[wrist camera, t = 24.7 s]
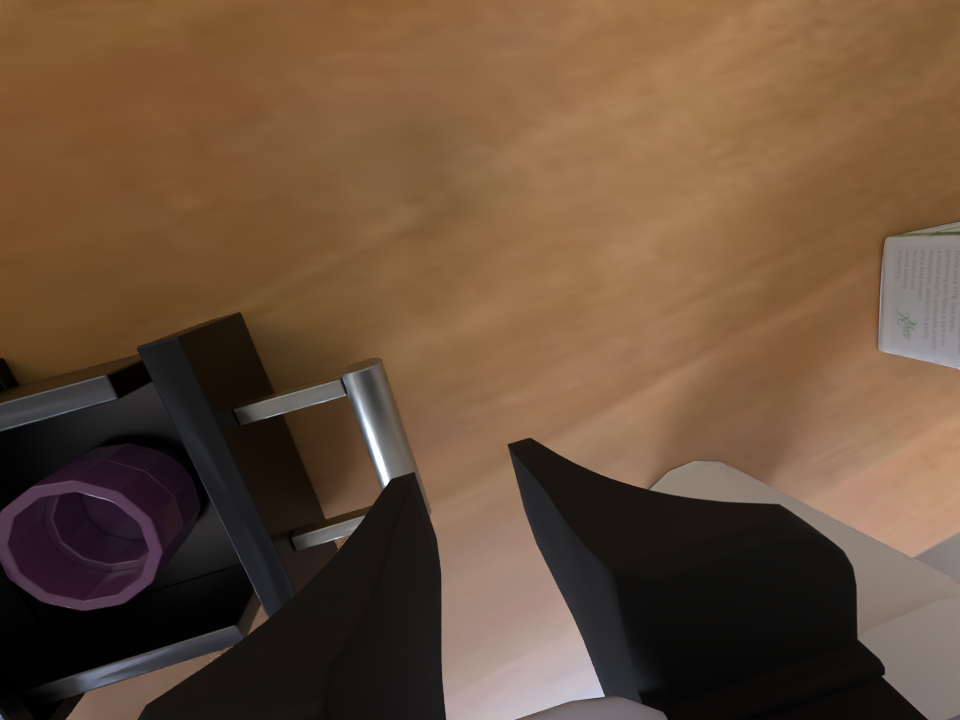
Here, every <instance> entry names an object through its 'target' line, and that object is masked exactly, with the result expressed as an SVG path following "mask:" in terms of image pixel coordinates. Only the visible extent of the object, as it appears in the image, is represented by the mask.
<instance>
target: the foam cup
mask: <svg viewBox="0 0 960 720" xmlns="http://www.w3.org/2000/svg"><path fill="white" fill-rule="evenodd" d="M649 490H652V491H657V492H661V493H666V494H671V495H676V496H683V497H689V498H696V499H705V500H713V501H723V502H742V503H767V504H780V505H782V506H783V507H785V508H786V509H788V510H790V511H791V512H792V513H794V514H795V515H797V516H798V517H800V518H801V519H803V520H804V521H806V522H807V523H808V524H810V525H811V526H812V527H814V528H815V529H816V530H818V531H819V532H821V533H822V534H823V535H825V536H826V537H827V538H829V539H830V540H831V541H832V542H834V543H835V544H836V545H837V546H839V547H840V548H841V549H842V550H844V552H845V554H846V555H847V557H848V559H849V560H850V562H851V564H852V566H853V568H854V574H855V579H856V585H857V633H858V640H859V641H860V642H861V643H862V644H863V645H865V646H866V647H867V648H868V649H869V650H870V651H871V652H872V653H873V654H875V655H876V656H877V657H878V658H879V659H880V660H881V662H882V663H883V665H884V667H885V675H883V676H882V677H883V678H884V679H885V680H886V681H887V682H888V683H889V684H891V685H892V686H893V687H894V688H895V689H896V690H897V691H898V692H899V693H900V694H901V695H902V696H903V697H904V698H905V699H907V700H908V701H909V702H910V703H911V704H912V705H913V706H914V707H915V708H916V709H917V710H918V711H919V712H920V713H921V714H923V715H924V716H925V717H926V718H927V719H928V720H946V719H949V718H952V717H955V716H958V715H960V582H959V581H957V580H955V579H953V578H951V577H949V576H947V575H945V574H943V573H941V572H939V571H937V570H935V569H933V568H931V567H929V566H927V565H925V564H923V563H921V562H919V561H917V560H915V559H913V558H911V557H909V556H907V555H905V554H903V553H901V552H899V551H897V550H895V549H893V548H891V547H889V546H887V545H886V544H884V543H882V542H880V541H878V540H876V539H874V538H872V537H870V536H868V535H866V534H864V533H862V532H860V531H858V530H856V529H854V528H852V527H850V526H848V525H846V524H844V523H842V522H840V521H838V520H836V519H834V518H832V517H830V516H828V515H826V514H824V513H822V512H820V511H818V510H816V509H814V508H812V507H810V506H808V505H806V504H804V503H802V502H800V501H798V500H796V499H794V498H792V497H790V496H788V495H786V494H784V493H782V492H780V491H778V490H777V489H775V488H773V487H771V486H769V485H767V484H765V483H763V482H761V481H759V480H757V479H755V478H753V477H751V476H749V475H747V474H745V473H743V472H741V471H739V470H737V469H735V468H733V467H731V466H727V465H725V464H724V463H722V462H717V461H693V462H690V463H688V464H686V465H683V466H681V467H678V468H676V469H673V470H671V471H668V472H667V473H666V474H665V475H664V476H663V477H662V478H661V479H660V480H659V481H658V482H657V483H656V484H655V485H654V486H653V487H651V488H650V489H649Z"/></svg>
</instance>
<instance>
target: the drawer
mask: <svg viewBox="0 0 960 720" xmlns="http://www.w3.org/2000/svg"><path fill="white" fill-rule="evenodd" d="M137 350H138V352H139V354H136V355H132V356H129V357H125V358H121V359H117V360H114V361H110V362H106V363H103V364H99V365H95V366H91V367H88V368H84V369H80V370H77V371H73V372H69V373H65V374H62V375H58V376H54V377H51V378H47V379H43V380H39V381H36V382H32V383H28V384H25V385H21V386H17V387H13V388H10V389H6V390H2V391H0V512H1V510H2V509H3V508H5V507H6V506H7V505H8V504H10V503H11V502H12V501H14V500H15V499H16V498H17V497H19V496H20V495H21V494H22V493H24V492H25V491H26V490H28V489H29V488H30V487H32V486H33V485H35V484H36V483H38V482H40V481H41V480H43V479H44V478H46V477H48V476H49V475H51V474H52V473H54V472H56V471H57V470H59V469H60V468H62V467H64V466H65V465H67V464H68V463H70V462H72V461H73V460H75V459H76V458H78V457H80V456H81V455H83V454H84V453H86V452H87V451H89V450H91V449H94V448H99V447H105V446H112V445H119V444H126V443H129V444H130V443H132V444H136V445H139V446H142V447H148V448H153V449H156V450H159V451H162V452H164V453H166V454H168V455H169V456H171V457H173V458H174V459H176V460H177V461H178V462H179V463H181V465H182V466H183V467H184V468H185V469H186V470H187V471H188V473H189V474H190V475H191V477H192V479H193V482H194V484H195V488H196V492H197V495H198V498H199V501H200V510H199V513H198V516H197V519H196V522H195V525H194V528H193V531H192V532H191V534H190V535H189V536H188V538H187V539H186V540H185V541H184V543H183V544H182V545H181V547H180V548H179V549H178V550H177V552H176V553H175V554H174V556H173V557H172V558H171V559H170V561H169V562H168V563H167V565H166V566H165V567H164V568H163V570H162V571H161V572H160V573H159V575H158V576H157V577H156V579H155V580H154V581H153V582H152V583H151V584H150V585H149V586H147V587H146V588H145V589H143V590H142V591H141V592H139V593H138V594H137V595H135V596H134V597H133V598H131V599H130V600H129V601H127V602H126V603H124V604H121V605H116V606H110V607H105V608H99V609H93V610H88V611H80V610H76V609H71V608H66V607H62V606H57V605H52V604H48V603H43V602H41V601H39V600H38V599H36V598H35V597H34V596H32V595H31V594H29V593H28V592H26V591H25V590H24V589H22V588H21V587H19V586H18V585H17V584H15V583H14V582H12V581H11V580H10V579H9V578H8V577H7V576H6V573H5V571H4V569H3V567H2V565H1V563H0V672H1V673H2V675H3V676H4V678H5V679H6V680H7V682H8V683H9V684H10V686H11V687H12V688H13V690H14V691H15V693H16V694H17V695H18V697H19V698H20V699H21V701H22V702H23V703H24V705H25V706H26V707H27V709H28V710H30V709H33V708H36V707H39V706H42V705H46V704H49V703H52V702H55V701H58V700H62V699H65V698H68V697H71V696H74V695H78V694H81V693H84V692H87V691H91V690H94V689H97V688H100V687H103V686H107V685H110V684H113V683H116V682H119V681H123V680H126V679H129V678H132V677H135V676H139V675H142V674H145V673H148V672H151V671H155V670H158V669H161V668H164V667H167V666H171V665H174V664H177V663H180V662H183V661H187V660H190V659H193V658H196V657H199V656H203V655H206V654H209V653H212V652H215V651H219V650H222V649H225V648H228V647H231V646H234V645H236V644H237V643H238V642H240V641H241V640H242V639H244V638H245V637H246V636H247V635H248V633H249V631H250V628H251V626H252V624H253V621H254V619H255V617H256V615H257V612H258V610H259V608H260V605H261V604H262V606H263V608H264V610H265V612H266V614H267V616H268V618H270V617H271V616H272V615H273V614H275V613H276V612H277V611H278V610H279V609H280V608H281V607H282V606H284V605H285V604H286V603H287V602H288V601H289V600H290V599H291V598H293V597H294V596H295V595H296V594H297V593H298V592H299V591H300V590H302V589H303V588H304V587H305V586H306V585H307V584H308V583H309V582H310V581H311V580H312V579H313V578H314V577H315V576H316V575H317V574H318V572H319V571H320V570H321V569H322V568H323V567H324V566H325V565H326V564H327V563H328V562H329V561H330V560H331V559H332V557H333V556H334V555H335V554H336V553H337V550H338V548H337V546H336V543H335V541H334V540H335V539H339V538H342V537H345V536H349V535H351V534H352V533H353V532H354V530H355V529H356V528H357V527H358V525H359V524H360V523H361V521H362V520H363V518H364V517H365V516H366V514H367V513H368V511H369V510H370V509H371V507H372V506H373V505H372V506H369V507H365V508H362V509H359V510H355V511H352V512H349V513H345V514H342V515H339V516H335V517H332V518H329V519H325V517H324V514H323V512H322V509H321V507H320V504H319V502H318V500H317V497H316V495H315V492H314V490H313V487H312V485H311V483H310V480H309V478H308V475H307V473H306V470H305V468H304V465H303V463H302V461H301V458H300V456H299V453H298V451H297V448H296V446H295V444H294V441H293V439H292V436H291V434H290V431H289V429H288V426H287V424H286V422H285V419H284V417H283V413H287V412H290V411H294V410H297V409H301V408H304V407H308V406H311V405H315V404H319V403H322V402H326V401H329V400H333V399H336V398H340V397H343V396H346V394H348V397H349V400H350V403H351V406H352V408H353V411H354V414H355V417H356V419H357V422H358V425H359V428H360V430H361V433H362V436H363V439H364V442H365V444H366V447H367V450H368V453H369V455H370V458H371V461H372V464H373V467H374V469H375V472H376V475H377V478H378V480H379V483H380V486H381V489H382V491H383V490H384V488H385V487H386V485H387V484H388V482H389V481H390V480H391V479H392V478H395V477H399V476H402V475H406V474H409V473H412V472H415V475H416V478H417V481H418V484H419V487H420V490H421V493H422V496H423V499H424V502H425V505H426V508H427V511H428V514H429V517H430V515H431V508H430V505H429V502H428V499H427V495H426V492H425V489H424V486H423V483H422V480H421V477H420V474H419V471H418V468H417V465H416V462H415V459H414V456H413V453H412V450H411V447H410V444H409V441H408V438H407V435H406V432H405V429H404V426H403V423H402V420H401V417H400V414H399V411H398V407H397V404H396V401H395V398H394V395H393V392H392V389H391V386H390V383H389V380H388V377H387V374H386V371H385V368H384V365H383V362H382V359H380V358H370V359H366V360H362V361H359V362H356V363H353V364H351V365H349V366H347V367H345V368H343V369H342V370H341V371H340V375H339V376H336V377H332V378H329V379H325V380H321V381H318V382H314V383H311V384H307V385H303V386H300V387H296V388H293V389H289V390H286V391H282V392H278V393H275V394H274V392H273V390H272V387H271V385H270V383H269V380H268V378H267V375H266V373H265V370H264V368H263V366H262V363H261V361H260V358H259V356H258V353H257V351H256V348H255V346H254V344H253V341H252V339H251V336H250V334H249V331H248V329H247V327H246V324H245V322H244V319H243V317H242V314H241V313H239V312H238V313H234V314H231V315H227V316H223V317H220V318H216V319H212V320H209V321H206V322H203V323H201V324H198V325H195V326H193V327H190V328H187V329H184V330H182V331H179V332H176V333H174V334H171V335H168V336H165V337H163V338H160V339H157V340H155V341H152V342H149V343H146V344H144V345H141V346H139V347H137Z"/></svg>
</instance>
